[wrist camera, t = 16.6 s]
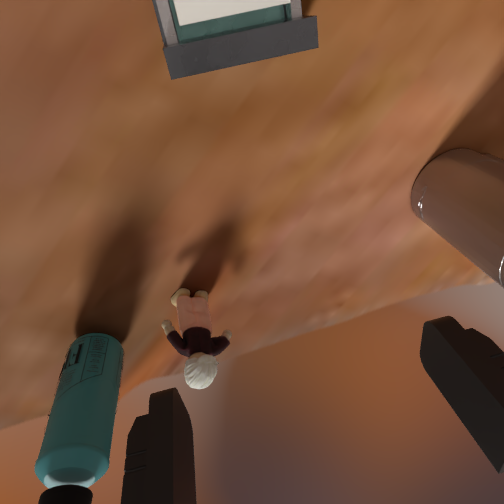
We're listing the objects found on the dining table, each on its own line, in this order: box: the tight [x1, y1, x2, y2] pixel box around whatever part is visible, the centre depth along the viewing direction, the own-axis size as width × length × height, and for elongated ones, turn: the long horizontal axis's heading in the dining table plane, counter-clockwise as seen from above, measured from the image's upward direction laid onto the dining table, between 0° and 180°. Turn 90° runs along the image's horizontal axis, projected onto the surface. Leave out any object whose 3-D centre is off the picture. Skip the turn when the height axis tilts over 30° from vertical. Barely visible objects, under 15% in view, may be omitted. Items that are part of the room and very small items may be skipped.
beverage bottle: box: [35, 333, 124, 504], centre depth 38 cm, size 6×7×20 cm
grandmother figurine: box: [162, 288, 232, 389], centre depth 40 cm, size 8×4×13 cm, turn 81°
